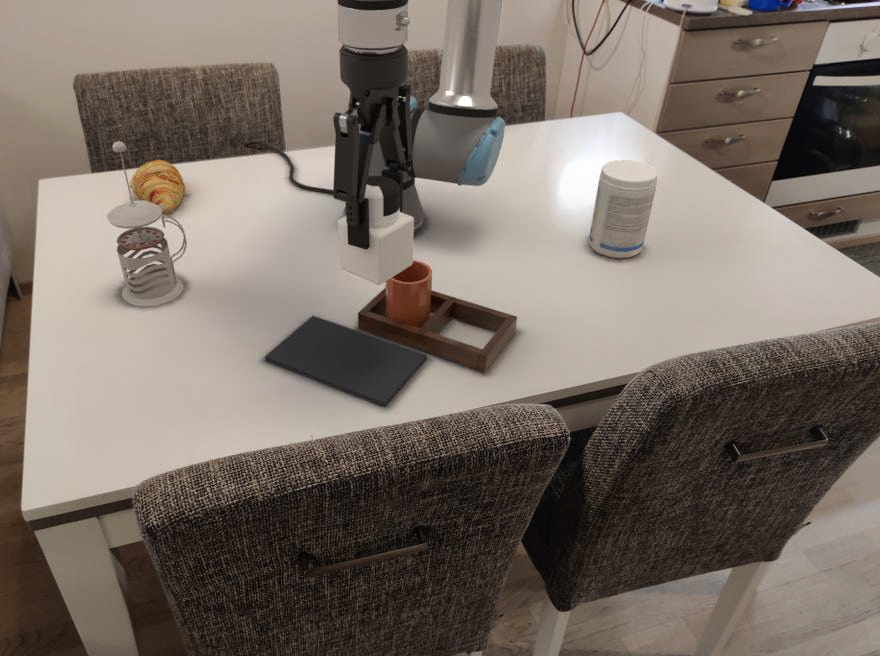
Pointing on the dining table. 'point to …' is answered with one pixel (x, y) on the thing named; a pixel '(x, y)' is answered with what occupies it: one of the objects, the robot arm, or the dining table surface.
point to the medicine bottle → (380, 235)
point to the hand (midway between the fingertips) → (375, 231)
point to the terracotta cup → (410, 295)
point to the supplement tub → (622, 208)
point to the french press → (153, 279)
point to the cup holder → (428, 333)
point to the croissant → (158, 184)
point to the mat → (347, 360)
